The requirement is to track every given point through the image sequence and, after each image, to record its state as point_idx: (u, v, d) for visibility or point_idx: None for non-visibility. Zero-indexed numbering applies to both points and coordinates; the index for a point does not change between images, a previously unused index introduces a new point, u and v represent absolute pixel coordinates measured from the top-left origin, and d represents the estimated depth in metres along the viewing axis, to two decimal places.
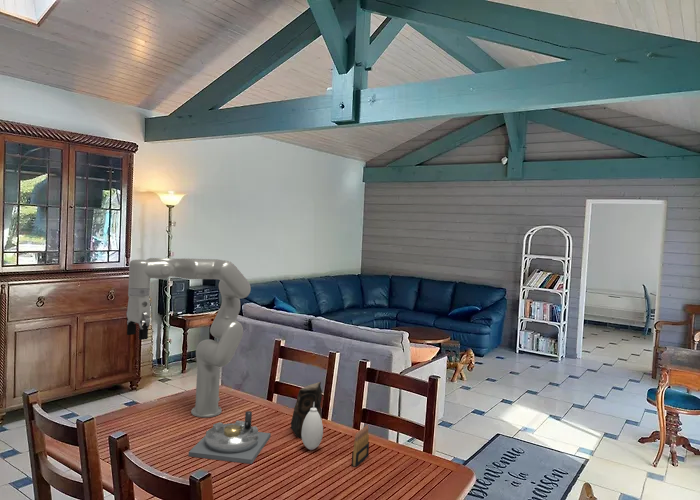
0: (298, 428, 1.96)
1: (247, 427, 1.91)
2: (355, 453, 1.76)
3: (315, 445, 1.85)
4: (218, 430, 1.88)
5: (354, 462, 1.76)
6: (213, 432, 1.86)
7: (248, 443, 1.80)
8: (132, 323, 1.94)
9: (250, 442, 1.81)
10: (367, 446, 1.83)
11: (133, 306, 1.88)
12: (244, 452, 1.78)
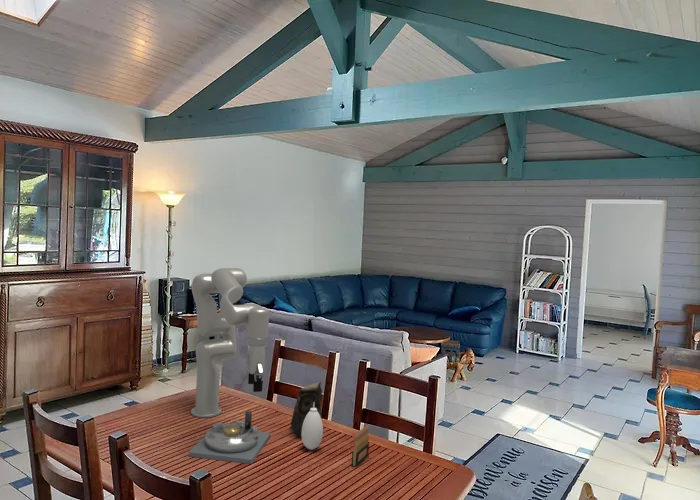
0: (298, 428, 1.96)
1: (247, 427, 1.91)
2: (355, 453, 1.76)
3: (315, 445, 1.85)
4: (218, 430, 1.88)
5: (354, 462, 1.76)
6: (213, 432, 1.86)
7: (248, 443, 1.80)
8: None
9: (250, 442, 1.81)
10: (367, 446, 1.83)
11: None
12: (244, 452, 1.78)
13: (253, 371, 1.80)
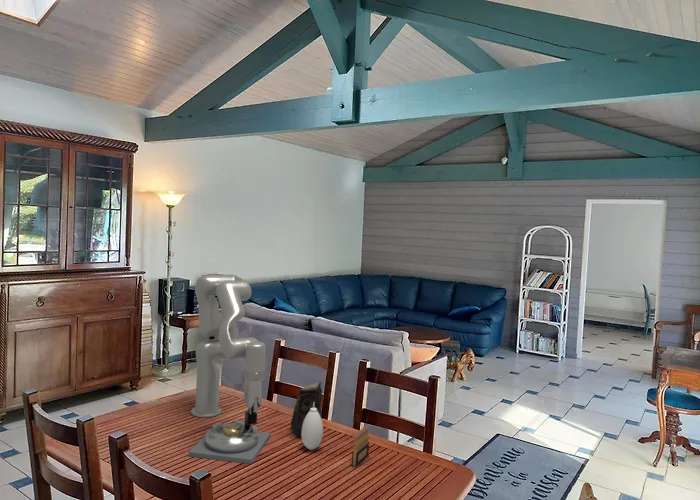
0: (298, 428, 1.96)
1: (247, 427, 1.91)
2: (355, 453, 1.76)
3: (315, 445, 1.85)
4: (218, 430, 1.88)
5: (354, 462, 1.76)
6: (213, 432, 1.85)
7: (249, 442, 1.80)
8: None
9: (251, 442, 1.81)
10: (367, 446, 1.83)
11: None
12: (244, 452, 1.78)
13: (250, 405, 1.83)
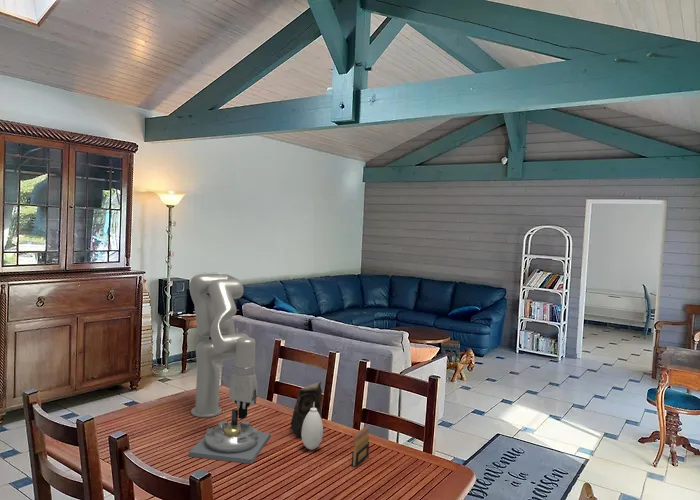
0: (298, 428, 1.96)
1: (236, 424, 1.92)
2: (355, 453, 1.76)
3: (315, 445, 1.85)
4: (215, 435, 1.83)
5: (354, 462, 1.76)
6: None
7: None
8: None
9: None
10: (367, 446, 1.83)
11: None
12: (244, 452, 1.78)
13: (251, 399, 1.88)
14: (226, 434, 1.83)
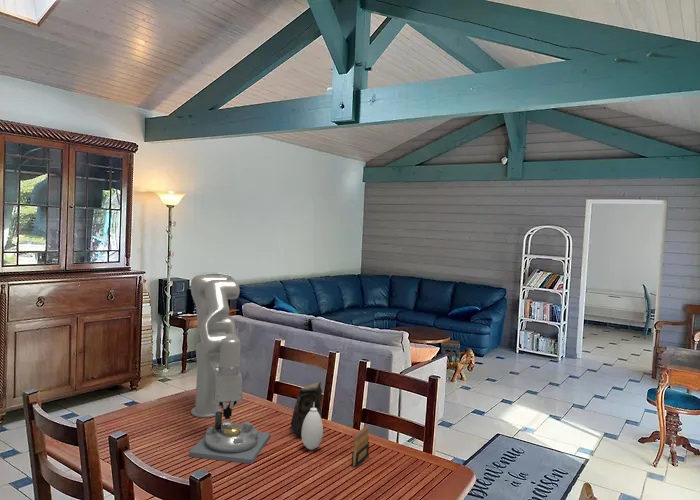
0: (298, 428, 1.96)
1: (221, 426, 1.90)
2: (355, 453, 1.76)
3: (315, 445, 1.85)
4: (224, 439, 1.80)
5: (354, 462, 1.76)
6: (230, 441, 1.79)
7: None
8: (228, 407, 1.91)
9: None
10: (367, 446, 1.83)
11: None
12: (244, 452, 1.78)
13: None
14: (233, 435, 1.83)
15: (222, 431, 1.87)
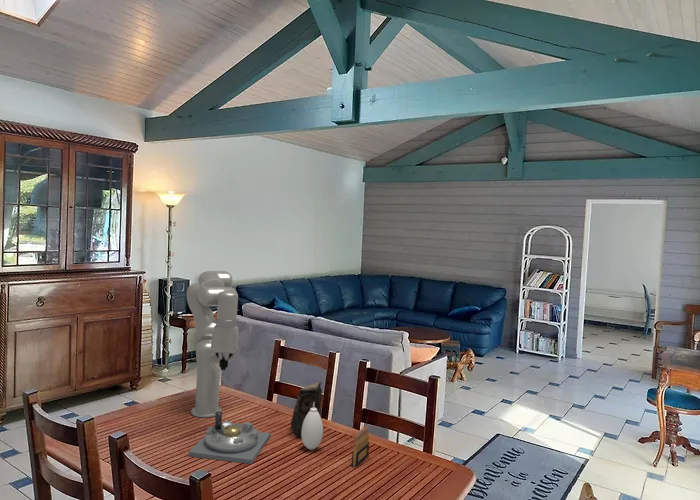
0: (298, 428, 1.96)
1: (221, 426, 1.90)
2: (355, 453, 1.76)
3: (315, 445, 1.85)
4: (224, 439, 1.80)
5: (354, 462, 1.76)
6: (230, 441, 1.79)
7: None
8: (224, 358, 1.95)
9: None
10: (367, 446, 1.83)
11: None
12: (244, 452, 1.78)
13: (237, 349, 1.93)
14: (233, 435, 1.83)
15: (222, 431, 1.87)
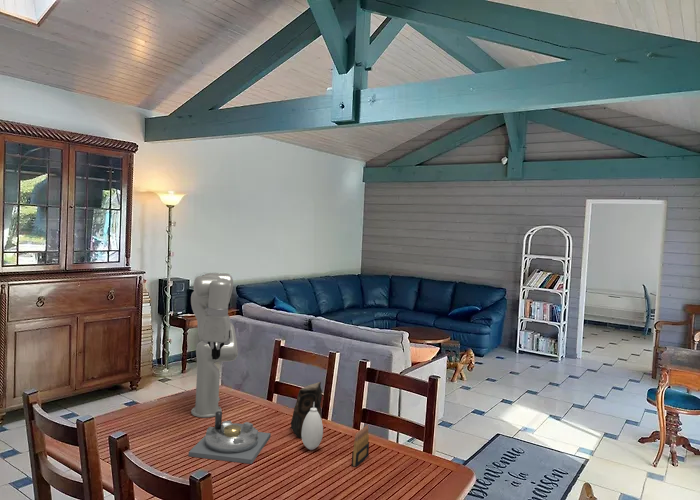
0: (298, 428, 1.96)
1: (221, 426, 1.90)
2: (355, 453, 1.76)
3: (315, 445, 1.85)
4: (224, 439, 1.80)
5: (354, 462, 1.76)
6: (230, 441, 1.79)
7: None
8: None
9: None
10: (367, 446, 1.83)
11: None
12: (244, 452, 1.78)
13: (227, 339, 1.94)
14: (233, 435, 1.83)
15: (222, 431, 1.87)
